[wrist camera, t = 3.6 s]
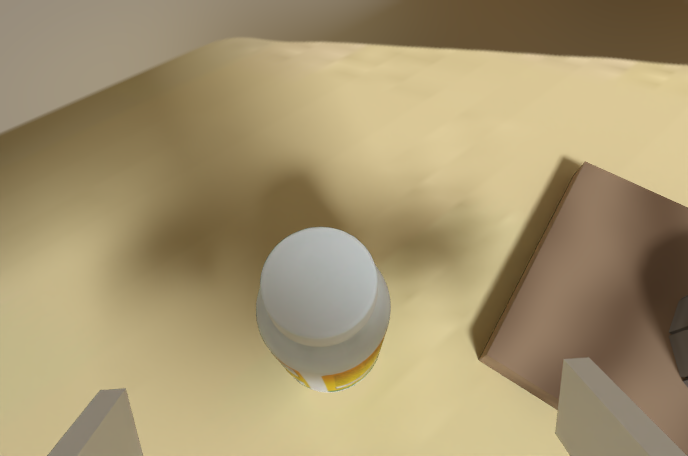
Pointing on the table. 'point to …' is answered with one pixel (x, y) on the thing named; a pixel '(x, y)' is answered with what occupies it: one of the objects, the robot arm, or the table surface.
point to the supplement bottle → (323, 308)
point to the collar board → (605, 299)
